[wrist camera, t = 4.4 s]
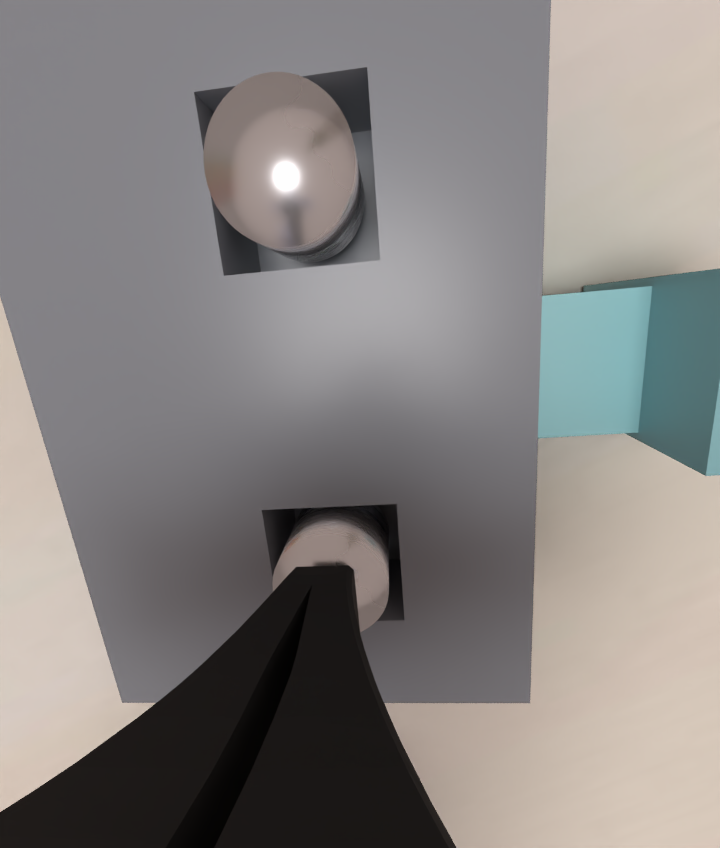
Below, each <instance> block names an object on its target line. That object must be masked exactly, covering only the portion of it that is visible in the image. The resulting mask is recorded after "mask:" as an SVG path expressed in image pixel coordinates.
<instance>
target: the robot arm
mask: <svg viewBox="0 0 720 848" xmlns="http://www.w3.org/2000/svg"><path fill="white" fill-rule="evenodd" d="M0 848H456V846H455V844H454V843H453V841H452V839H451V837H450V835H449V834H448V832H447V830H446V828H445V826H444V825H443V823H442V821H441V819H440V817H439V816H438V814H437V812H436V810H435V808H434V807H433V805H432V803H431V801H430V799H429V797H428V795H427V793H426V791H425V789H424V787H423V785H422V783H421V781H420V779H419V777H418V775H417V773H416V771H415V769H414V767H413V765H412V763H411V761H410V759H409V757H408V755H407V753H406V751H405V749H404V747H403V745H402V743H401V741H400V739H399V737H398V734H397V732H396V730H395V728H394V725H393V723H392V721H391V719H390V716H389V714H388V712H387V709H386V707H385V704H384V702H383V699H382V697H381V695H380V692H379V689H378V687H377V684H376V681H375V679H374V676H373V673H372V670H371V667H370V664H369V661H368V658H367V655H366V652H365V649H364V645H363V642H362V639H361V635H360V625H359V616H358V606H357V596H356V586H355V576H354V569H352V568H351V567H350V566H349V565H340V566H308V567H295V568H294V570H293V571H292V572H291V573H290V574H289V575H288V576H287V577H286V578H285V579H284V580H283V581H282V582H281V583H280V585H279V586H278V587H277V588H276V589H275V590H274V591H273V592H272V593H271V595H270V596H269V597H268V598H267V599H266V600H265V601H264V602H263V603H262V604H261V606H260V607H259V608H258V609H257V610H256V611H255V612H254V613H253V614H252V615H251V616H250V617H249V618H248V619H247V620H246V621H245V622H244V623H243V625H242V626H241V627H240V628H239V629H238V630H237V631H236V632H235V633H234V634H233V635H232V636H231V637H230V638H229V639H228V640H227V641H226V642H224V643H223V644H222V645H221V646H220V647H219V648H218V649H217V650H216V651H215V652H214V653H213V654H212V655H211V656H210V657H209V658H208V659H207V660H206V661H205V662H204V663H203V664H202V665H200V666H199V667H198V668H197V669H196V670H195V671H194V672H193V673H192V674H190V675H189V676H188V677H187V678H186V679H185V680H183V681H182V682H181V683H180V684H179V685H178V686H176V687H175V688H174V689H173V690H172V691H170V692H169V693H168V694H167V695H165V696H164V697H163V698H162V699H161V700H159V701H158V702H157V703H156V704H154V705H153V706H152V707H151V708H150V709H148V710H147V711H146V712H144V713H143V714H142V715H141V716H139V717H138V718H137V719H135V720H134V721H132V722H131V723H130V724H128V725H127V726H126V727H124V728H123V729H122V730H120V731H119V732H117V733H116V734H115V735H113V736H112V737H111V738H109V739H108V740H107V741H105V742H104V743H102V744H101V745H100V746H98V747H97V748H96V749H94V750H93V751H92V752H90V753H89V754H87V755H86V756H85V757H83V758H82V759H81V760H79V761H78V762H76V763H75V764H73V765H72V766H70V767H69V768H67V769H66V770H64V771H63V772H61V773H60V774H58V775H57V776H55V777H54V778H52V779H51V780H49V781H48V782H46V783H45V784H43V785H42V786H40V787H39V788H37V789H36V790H34V791H33V792H31V793H30V794H28V795H27V796H25V797H23V798H22V799H20V800H19V801H17V802H16V803H14V804H12V805H11V806H9V807H8V808H6V809H5V810H3V811H1V812H0Z"/></svg>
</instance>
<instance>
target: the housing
mask: <svg viewBox="0 0 720 848" xmlns="http://www.w3.org/2000/svg"><path fill="white" fill-rule="evenodd" d="M550 11H551V0H0V297H1V300H2V303H3V307H4V310H5V313H6V317H7V320H8V323H9V327H10V330H11V333H12V337H13V340H14V343H15V347H16V350H17V353H18V357H19V360H20V363H21V367H22V370H23V373H24V377H25V380H26V383H27V387H28V390H29V393H30V397H31V400H32V403H33V407H34V410H35V413H36V417H37V420H38V423H39V427H40V430H41V433H42V437H43V440H44V443H45V447H46V450H47V453H48V457H49V460H50V463H51V467H52V470H53V473H54V477H55V480H56V483H57V487H58V490H59V493H60V497H61V500H62V503H63V507H64V510H65V513H66V517H67V520H68V523H69V527H70V530H71V533H72V537H73V540H74V543H75V547H76V550H77V553H78V557H79V560H80V563H81V567H82V570H83V573H84V577H85V580H86V583H87V587H88V590H89V593H90V597H91V600H92V603H93V607H94V610H95V613H96V617H97V620H98V623H99V627H100V630H101V633H102V637H103V640H104V643H105V647H106V650H107V653H108V657H109V660H110V663H111V667H112V670H113V673H114V677H115V680H116V683H117V687H118V690H119V693H120V697H121V700H122V703H157V702H158V701H159V700H161V699H162V698H163V697H164V696H165V695H167V694H168V693H169V692H170V691H172V690H173V689H174V688H175V687H176V686H178V685H179V684H180V683H181V682H182V681H183V680H185V679H186V678H187V677H188V676H189V675H190V674H192V673H193V672H194V671H195V670H196V669H197V668H198V667H199V666H200V665H202V664H203V663H204V662H205V661H206V660H207V659H208V658H209V657H210V656H211V655H212V654H213V653H214V652H215V651H216V650H217V649H218V648H219V647H220V646H221V645H222V644H223V643H224V642H226V641H227V640H228V639H229V638H230V637H231V636H232V635H233V634H234V633H235V632H236V631H237V630H238V629H239V628H240V627H241V626H242V625H243V623H244V622H245V621H246V620H247V619H248V618H249V617H250V616H251V615H252V614H253V613H254V612H255V611H256V610H257V609H258V608H259V607H260V606H261V604H262V603H263V602H264V601H265V600H266V599H267V598H268V597H269V596H270V595H271V593H272V592H273V585H272V582H273V574H274V570H275V568H276V565H277V563H278V561H279V558H280V556H281V554H282V552H283V549H284V547H285V545H286V543H287V541H288V538H289V536H290V534H291V532H292V530H293V527H294V525H295V523H296V521H297V518H298V516H299V514H300V512H301V510H302V508H319V507H342V506H364V505H378V506H379V507H380V508H381V510H382V511H383V513H384V514H385V517H386V519H387V522H388V525H389V596H388V602H387V605H386V607H385V609H384V612H383V613H382V615H381V616H380V618H379V619H378V620H377V621H376V622H375V623H374V624H373V625H371V626H370V627H369V628H367V629H365V630H364V631H362V632H360V635H361V639H362V642H363V645H364V649H365V652H366V655H367V658H368V661H369V664H370V667H371V670H372V673H373V676H374V679H375V681H376V684H377V687H378V689H379V692H380V695H381V697H382V699H383V702H384V703H530V685H531V651H532V618H533V584H534V550H535V517H536V483H537V449H538V415H539V382H540V348H541V314H542V281H543V247H544V213H545V180H546V146H547V112H548V78H549V45H550ZM267 72H287V73H292V74H296V75H299V76H302V77H304V78H306V79H309V80H310V81H312V82H314V83H315V84H317V85H318V86H320V87H321V88H322V89H323V90H325V91H326V92H327V93H328V94H329V95H330V96H331V98H332V99H333V100H334V101H335V102H336V104H337V105H338V106H339V108H340V109H341V111H342V113H343V115H344V117H345V118H346V120H347V123H348V125H349V128H350V131H351V134H352V138H353V142H354V146H355V151H356V155H357V160H358V164H359V169H360V173H361V177H362V182H363V187H364V197H365V203H364V212H363V216H362V220H361V223H360V226H359V228H358V230H357V232H356V234H355V236H354V237H353V239H352V240H351V241H350V242H349V244H348V245H347V246H346V247H345V248H344V249H343V250H341V251H340V252H339V253H337V254H336V255H334V256H332V257H330V258H328V259H325V260H322V261H318V262H299V261H295V260H291V259H289V258H287V257H284V256H282V255H280V254H278V253H276V252H274V251H272V250H270V249H269V248H267V247H265V246H263V245H261V244H259V243H257V242H255V241H253V240H251V239H249V238H247V237H246V236H244V235H242V234H241V233H240V232H238V231H237V230H236V229H235V228H234V227H233V226H232V225H230V224H229V223H228V222H227V220H226V219H225V218H224V217H223V215H222V214H221V213H220V211H219V209H218V208H217V206H216V205H215V202H214V200H213V198H212V196H211V194H210V191H209V188H208V185H207V181H206V177H205V171H204V143H205V137H206V133H207V128H208V126H209V123H210V120H211V118H212V116H213V114H214V112H215V110H216V108H217V106H218V105H219V104H220V102H221V101H222V99H223V98H224V97H225V96H226V95H227V94H228V93H229V92H230V91H231V90H232V89H233V88H234V87H235V86H237V85H238V84H239V83H241V82H243V81H244V80H246V79H248V78H250V77H253V76H255V75H258V74H263V73H267Z"/></svg>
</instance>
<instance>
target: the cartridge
mask: <svg viewBox="0 0 720 848" xmlns="http://www.w3.org/2000/svg"><path fill="white" fill-rule="evenodd" d="M621 433H625V434H627V435H629V436H631V437H633V438H635V439H637V440H639V441H641V442H642V443H644V444H646V445H648V446H650V447H652V448H654V449H656V450H658V451H660V452H662V453H663V454H665V455H667V456H669V457H671V458H673V459H675V460H677V461H679V462H681V463H682V464H684V465H686V466H688V467H690V468H692V469H694V470H696V471H698V472H700V473H701V474H703V475H705V476H711V475H720V269H713V270H705V271H697V272H689V273H682V274H674V275H666V276H658V277H650V278H642V279H635V280H627V281H619V282H611V283H603V284H595V285H587V286H584V289H583V292H580V293H568V294H557V295H546V296H542V314H541V348H540V382H539V415H538V438H551V437H568V436H586V435H603V434H621Z"/></svg>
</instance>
